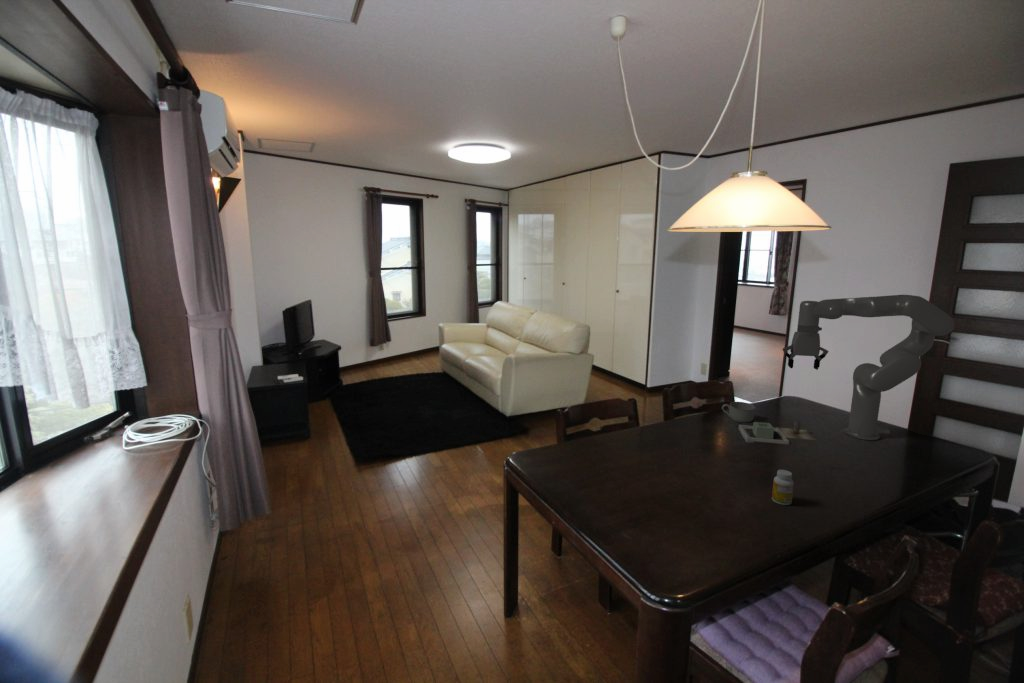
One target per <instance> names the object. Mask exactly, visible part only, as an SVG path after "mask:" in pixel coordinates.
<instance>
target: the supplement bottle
mask: <svg viewBox="0 0 1024 683" xmlns="http://www.w3.org/2000/svg"><path fill="white" fill-rule="evenodd" d="M792 478H793V473H792V472H791V471H788V470H786V469H777V472H776V476H774V478H773V484H772V493H771V494H772V495H771V500H772V501H773V502H774V503H776V504H778V505H783V506H789V505H791V504H792V501H793V495H794V494H793V493H794V485H795V483H794V480H793V479H792Z"/></svg>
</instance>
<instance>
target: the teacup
mask: <svg viewBox="0 0 1024 683" xmlns="http://www.w3.org/2000/svg"><path fill="white" fill-rule="evenodd" d="M725 407H727V408H728V410H729V412H728V411H726V409H725ZM721 410H722V412H723V413H725V414H726V415H727V416H728V417H730V418H731V420H732V421H734V422H735V423H738V424H742V423H751V422H752V421H753V420H754V419H755V412H756V411H755V410H756V407H755V405H753V404H751V403H748V402H745V401H732V402H730V404H728V403H723V404H722V406H721Z"/></svg>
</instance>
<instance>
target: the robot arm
mask: <svg viewBox="0 0 1024 683" xmlns="http://www.w3.org/2000/svg"><path fill="white" fill-rule="evenodd" d="M843 316H850V317H851V316H853V317H860V318H882V317H898V316H899V317H901V316H902V317H903V316H904V317H909V318H910V319H911V330H910V333H909V334H908V335H907V337H906V338H904V339H902V340H901V341H900V342H898V343H897V344H896V345H893V346H892V347H890V348H888V349H887V350H885V351H884V352H883V353H882V354H880V356H879V364H881V366H878V365H877V364H874V363H871V362H867V363H866V362H865V363H861V364H859V365H857V366H856V367H855V368H854V371H853V373H852V385H853V388H852V396H851V403H850V409H849V410H850V411H849V419H848V426H847V427H845V428H843V431H842V433H844V434H845V435H847V437H851V438H854V439H859V440H864V441H877V440H880V439H881V434H884V435H889V434H890V432H891V431H890V430H889V429H886V428H885V429H884V428H883V427H878V426H877V425H878V418H879V413H880V406H881V401H882V400H881V398H882V393H883V392H887V391H889V390H892V389H894V388H896V386H899V385H900V384H903V382H905V381H906V380H909V379H910V378H912V377H913V376H914V375H916V374H917V373H918V372H919V371H920V369H921V367H922V359H921V358H920V357H922V356H923V355H925V354H926V353H927V352H928V351H930V350H931V349H932V347H933V345H934V343H935V339H936V336H939V337H940V336H946V335H948V334H950V333H952V331H953V330H954V328H955V320H954V318H952V317H951V315H949V314H948V313H947V312H945V311H944V310H942V309H940V308H939V307H938V306H936V305H934V304H933V303H932V302H930V301H929V300H927V299H926V298H925V297H922V296H920V295H912V294H896V295H895V294H894V295H893V294H892V295H880V296H861V297H845V298H830V299H829V298H828V299H823V300H822V299H821V300H819V301H818V300H817V301H816V300H803V301H800V305H799V311H798V319H797V320H798V321H797V329H796V331H794V333H793V336H792V340H791V345H789V346H786V347H783V348H782V351H783V354H784V356H786V357H787V359H788V361H787V366H788V367H789V369H793V368H794V358H795V357H796V356H800V357H801V356H802V357H803V356H805V357H814V358H815V359H814V361H813V369H815V370H816V371H818V370H819V368H820V364H821V361H822V359H824V358H826V356H827V354H829V350H828V349H826V348H824V347H822V346H821V338H820V337H821V336H820V333H819V332H820V331H822V330H823V328H822V327H820V326H819V325H820V319H826V320H837V319H840V318H841V317H843ZM789 350H790V353H789V352H788V351H789ZM820 351H821V352H822V353H821V354H820Z"/></svg>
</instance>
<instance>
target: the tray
mask: <svg viewBox="0 0 1024 683" xmlns="http://www.w3.org/2000/svg"><path fill="white" fill-rule="evenodd" d="M773 428H774V432H776V433H777V434H778V436H779V437H781V439H774V438H773V439H768V438H757V437H752V436H750V434H749V432H748V431H747V430H753V425H748V424H747V425H746V424H745V425H744V424H738V431H739V433H740V435H741V436H742V437H743V439H744V440H745V442H746V443H747V444H755V442H758V443H769V444H770V443H771V444H781V445H790V440H789V438H786V437H785V436H784V435H783V433H782V432H781V431H780V430H779V429H778V428H779V427H778V428H777V427H773ZM746 429H747V430H746Z"/></svg>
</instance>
